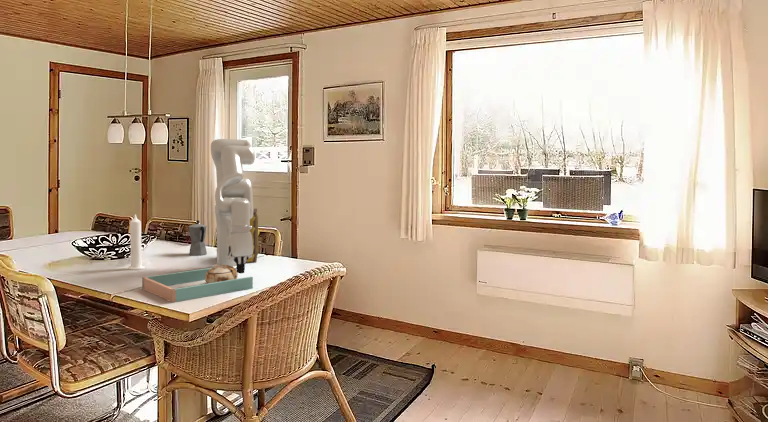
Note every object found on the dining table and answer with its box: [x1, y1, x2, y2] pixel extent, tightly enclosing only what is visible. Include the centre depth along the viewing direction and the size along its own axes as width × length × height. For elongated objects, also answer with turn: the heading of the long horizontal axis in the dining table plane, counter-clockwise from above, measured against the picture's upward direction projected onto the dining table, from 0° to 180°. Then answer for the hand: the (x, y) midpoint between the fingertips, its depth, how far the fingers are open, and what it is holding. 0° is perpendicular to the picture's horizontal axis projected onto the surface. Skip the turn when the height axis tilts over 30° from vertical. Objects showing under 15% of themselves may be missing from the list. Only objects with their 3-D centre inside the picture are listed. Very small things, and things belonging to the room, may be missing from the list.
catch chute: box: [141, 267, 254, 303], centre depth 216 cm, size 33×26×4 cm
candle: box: [127, 213, 146, 271], centre depth 249 cm, size 7×7×25 cm
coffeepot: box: [188, 220, 208, 257], centre depth 287 cm, size 15×9×18 cm, turn 37°
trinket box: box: [204, 265, 239, 284], centre depth 224 cm, size 13×15×8 cm
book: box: [245, 208, 260, 264], centre depth 279 cm, size 22×8×25 cm, turn 12°
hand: (240, 272), depth 229 cm, fingers closed
